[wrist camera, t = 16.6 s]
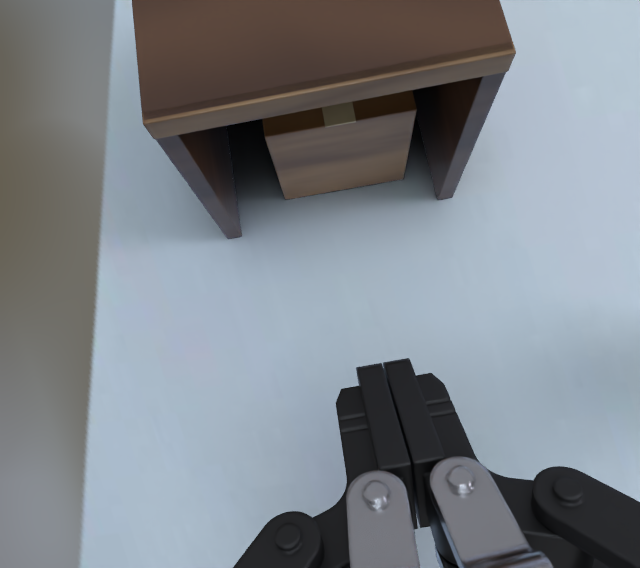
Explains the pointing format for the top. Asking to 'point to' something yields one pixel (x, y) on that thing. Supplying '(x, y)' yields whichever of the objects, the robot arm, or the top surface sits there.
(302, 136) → the parcel box
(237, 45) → the cabinet
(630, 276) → the top surface
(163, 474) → the top surface
